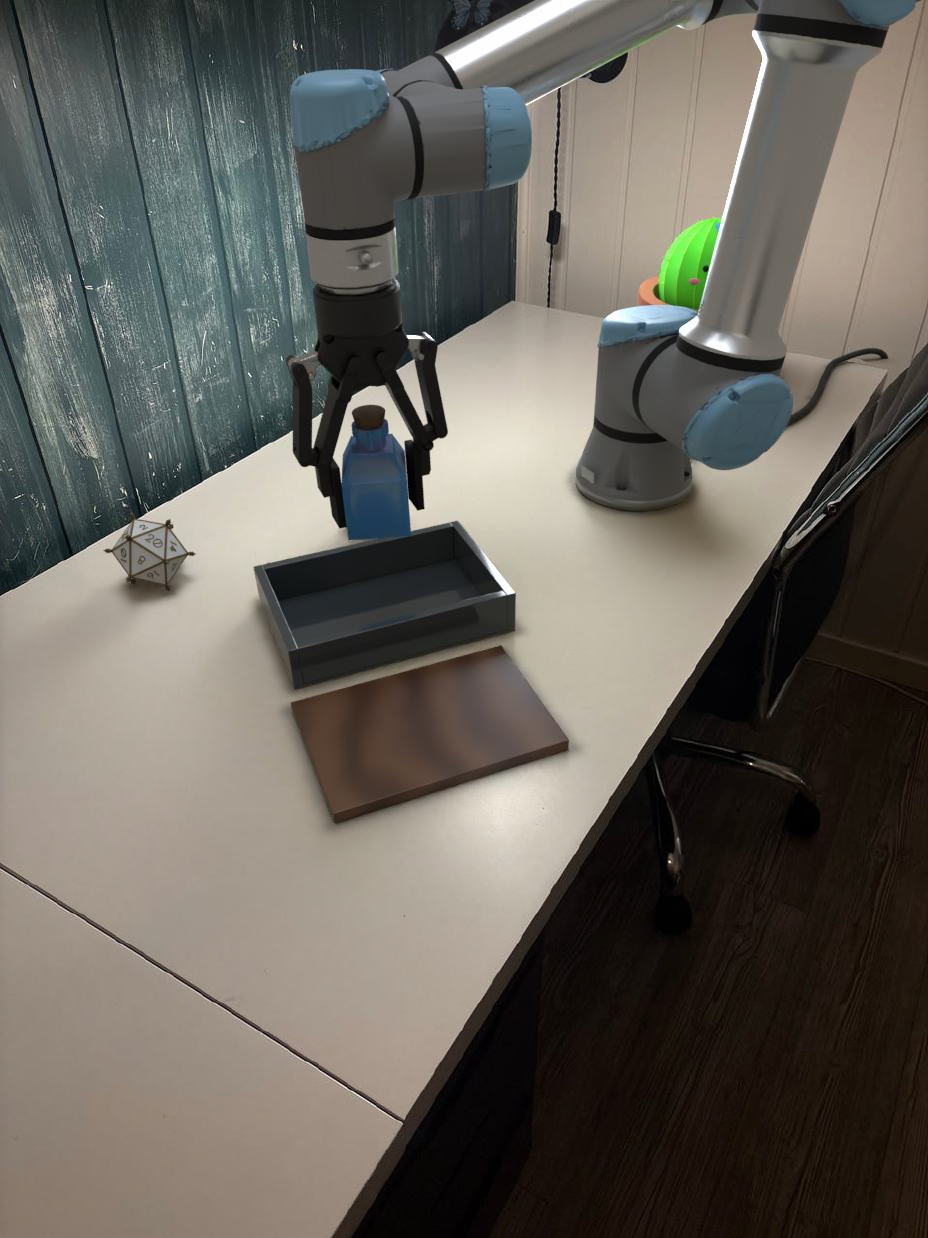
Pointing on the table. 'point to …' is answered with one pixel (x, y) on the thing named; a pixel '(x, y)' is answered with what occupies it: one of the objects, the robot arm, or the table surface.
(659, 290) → the potted cactus
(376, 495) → the perfume bottle
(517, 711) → the board
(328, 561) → the tray
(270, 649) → the table surface
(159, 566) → the game die
